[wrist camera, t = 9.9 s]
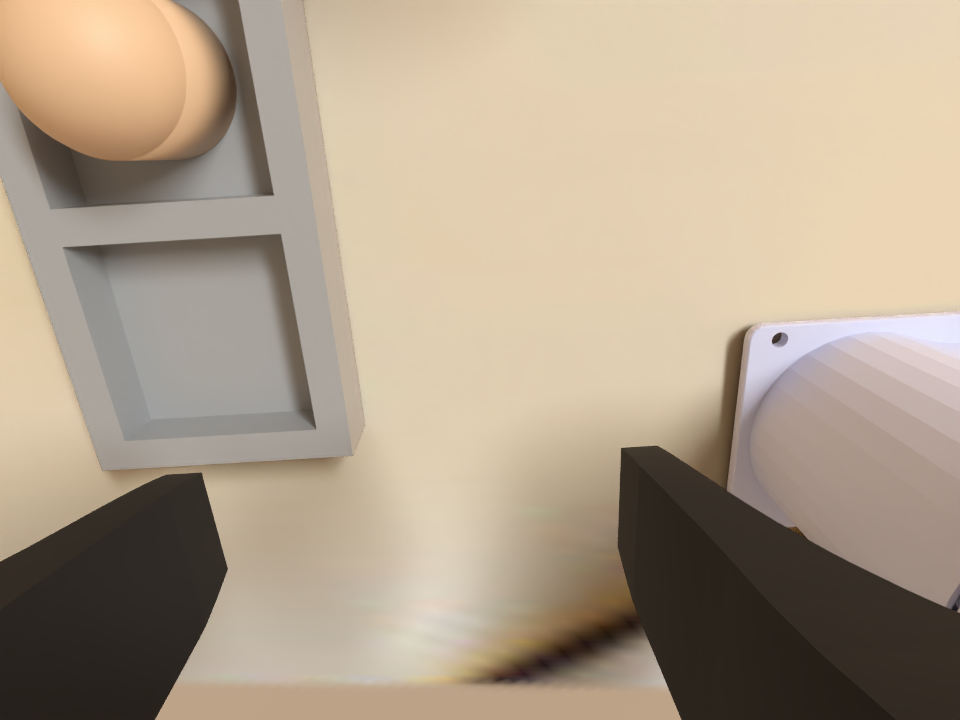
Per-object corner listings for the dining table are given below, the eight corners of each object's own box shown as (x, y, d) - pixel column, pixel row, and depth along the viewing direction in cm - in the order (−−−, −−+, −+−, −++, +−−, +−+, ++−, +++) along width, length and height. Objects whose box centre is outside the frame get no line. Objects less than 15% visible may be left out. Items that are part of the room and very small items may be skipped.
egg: (218, -9, 14) (112, -78, 10) (250, 155, 16) (168, 155, 11) (65, 1, 14) (-104, -64, 10) (111, 164, 16) (-22, 167, 11)
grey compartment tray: (229, -497, 12) (180, -630, 10) (364, 425, 19) (353, 456, 17) (-143, -472, 12) (-267, -599, 10) (139, 438, 19) (102, 470, 17)
